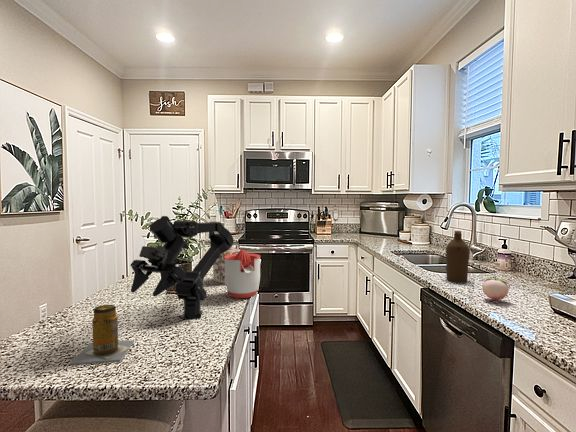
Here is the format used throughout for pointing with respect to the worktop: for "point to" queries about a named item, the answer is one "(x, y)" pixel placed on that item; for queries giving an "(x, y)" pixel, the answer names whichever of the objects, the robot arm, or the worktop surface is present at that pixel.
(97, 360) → the mat
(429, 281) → the worktop surface
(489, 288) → the decorative fruit
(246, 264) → the citrus juicer
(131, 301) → the worktop surface
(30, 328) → the worktop surface
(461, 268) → the olive oil
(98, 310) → the condiment
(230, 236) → the robot arm
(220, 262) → the decorative jar
